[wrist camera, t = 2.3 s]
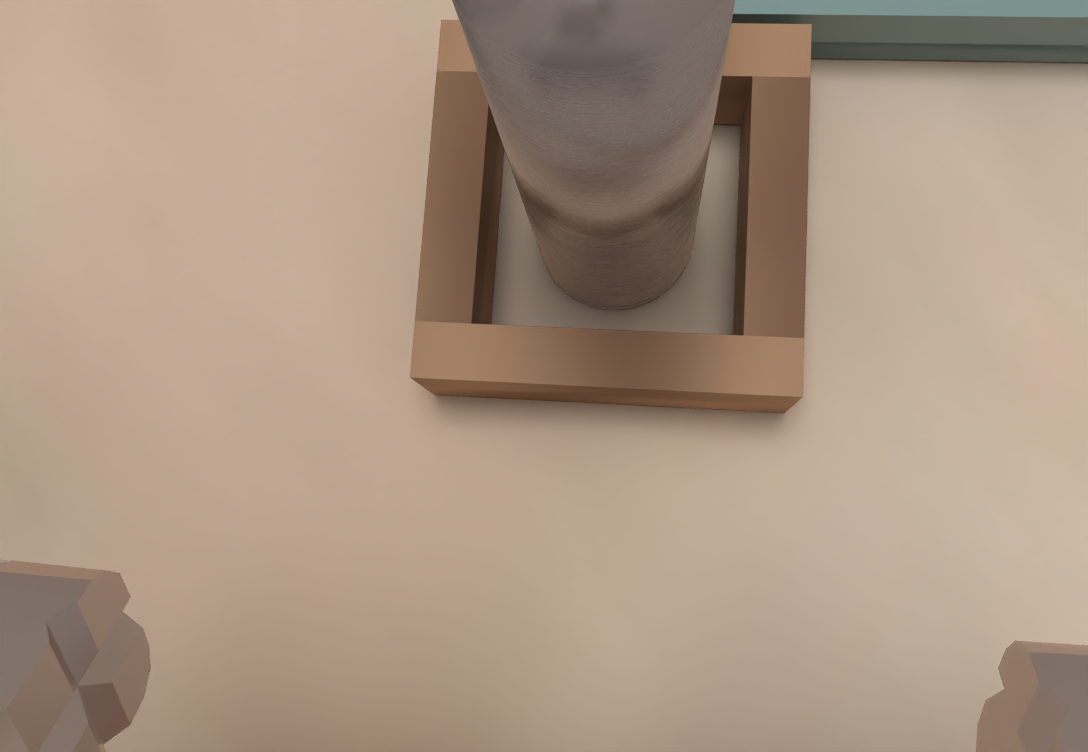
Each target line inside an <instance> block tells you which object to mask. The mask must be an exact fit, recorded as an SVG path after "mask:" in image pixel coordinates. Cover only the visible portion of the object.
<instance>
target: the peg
mask: <svg viewBox="0 0 1088 752" xmlns="http://www.w3.org/2000/svg"><path fill="white" fill-rule="evenodd" d="M452 1H453V3H454V6H455V9H456V12H457V15H458V18H459V21H460V23H461V26H462V29H463V32H464V35H465V38H466V41H467V43H468V46H469V49H470V52H471V55H472V58H473V61H474V63H475V66H476V69H477V72H478V75H479V78H480V81H481V83H482V86H483V89H484V92H485V95H486V98H487V101H488V103H489V106H490V109H491V112H492V115H493V118H494V121H495V123H496V126H497V129H498V132H499V135H500V138H501V141H502V143H503V146H504V149H505V152H506V155H507V158H508V161H509V163H510V166H511V169H512V172H513V175H514V178H515V181H516V183H517V186H518V189H519V192H520V195H521V198H522V201H523V203H524V206H525V209H526V212H527V215H528V218H529V221H530V223H531V226H532V229H533V232H534V235H535V238H536V241H537V243H538V246H539V249H540V252H541V255H542V258H543V261H544V263H545V265H546V268H547V270H548V272H549V273H550V275H551V276H552V278H553V279H554V281H555V282H556V283H557V284H558V286H559V287H561V288H562V289H563V290H564V291H565V292H566V293H567V294H569V295H570V296H571V297H573V298H574V299H576V300H578V301H580V302H582V303H584V304H587V305H589V306H592V307H596V308H600V309H608V310H623V309H629V308H634V307H638V306H641V305H644V304H646V303H648V302H651V301H652V300H654V299H656V298H658V297H659V296H661V295H662V294H663V293H665V292H666V291H667V290H668V289H669V288H670V287H671V286H672V285H673V284H674V283H675V282H676V281H677V279H678V278H679V277H680V275H681V274H682V272H683V270H684V269H685V267H686V265H687V262H688V260H689V257H690V253H691V250H692V245H693V239H694V233H695V228H696V222H697V216H698V210H699V205H700V199H701V193H702V188H703V182H704V176H705V171H706V165H707V159H708V153H709V148H710V142H711V136H712V131H713V125H714V119H715V114H716V108H717V102H718V96H719V91H720V85H721V79H722V74H723V68H724V62H725V57H726V51H727V45H728V39H729V34H730V28H731V22H732V17H733V11H734V5H735V0H452Z"/></svg>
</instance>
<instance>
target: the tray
mask: <svg viewBox="0 0 1088 752" xmlns="http://www.w3.org/2000/svg"><path fill="white" fill-rule="evenodd" d="M731 23H754V24H812V32H811V58H815V59H882V60H949V61H1016V62H1083V63H1088V0H735V5H734V11H733V17H732V22H731Z"/></svg>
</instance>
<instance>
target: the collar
mask: <svg viewBox="0 0 1088 752" xmlns="http://www.w3.org/2000/svg"><path fill="white" fill-rule="evenodd" d="M811 32H812V24H754V23H731V28H730V34H729V39H728V45H727V51H726V57H725V62H724V68H723V74H722V79H721V85H720V91H719V96H718V102H717V108H716V114H715V119H714V124H729V125H741V132H740V160H739V188H738V215H737V243H736V271H735V299H734V327H733V335H721V334H698V333H675V332H652V331H629V330H607V329H584V328H561V327H538V326H515V325H492V324H491V317H492V304H493V290H494V277H495V264H496V250H497V237H498V223H499V210H500V197H501V183H502V170H503V157H504V146H503V143H502V141H501V138H500V135H499V132H498V129H497V126H496V123H495V121H494V118H493V115H492V112H491V109H490V106H489V103H488V101H487V98H486V95H485V92H484V89H483V86H482V83H481V81H480V78H479V75H478V72H477V69H476V66H475V63H474V61H473V58H472V55H471V52H470V49H469V46H468V43H467V41H466V38H465V35H464V32H463V29H462V26H461V23H460V21H459V20H441V28H440V40H439V51H438V63H437V74H436V86H435V97H434V109H433V120H432V132H431V143H430V155H429V166H428V178H427V189H426V201H425V212H424V224H423V235H422V247H421V258H420V270H419V281H418V293H417V304H416V316H415V327H414V339H413V350H412V362H411V373H410V378H412V379H413V380H414V381H416V382H417V383H419V384H420V385H422V386H423V387H424V388H426V389H427V390H429V391H430V392H432V393H433V394H434V395H451V396H470V397H489V398H509V399H528V400H547V401H567V402H586V403H606V404H625V405H644V406H664V407H683V408H702V409H722V410H741V411H761V412H780V413H785V412H786V411H787V410H788V409H790V408H791V407H792V406H793V405H794V404H795V403H796V402H798V401H799V400H800V399H801V398H802V397H803V359H804V318H805V277H806V236H807V196H808V155H809V114H810V73H811Z"/></svg>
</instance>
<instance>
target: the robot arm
mask: <svg viewBox="0 0 1088 752" xmlns="http://www.w3.org/2000/svg"><path fill="white" fill-rule="evenodd" d="M130 597H131V596H130V594H129V592H128V590H127V588H126V586H125V583H124V581H123V579H122V577H121V575H120V573H116V572H111V571H104V570H95V569H86V568H76V567H67V566H58V565H48V564H39V563H29V562H20V561H7V560H0V752H105V748H104V743H106V742H107V741H109V740H110V739H111V738H113V737H114V736H115V735H117V734H118V733H120V732H121V731H122V730H124V729H125V728H126V727H128V726H129V725H130V724H131V722H132V720H133V718H134V716H135V714H136V712H137V710H138V708H139V706H140V704H141V702H142V700H143V698H144V694H145V690H146V686H147V681H148V677H149V672H150V668H151V666H150V651H149V644H148V641H147V638H146V636H145V633H144V630H143V628H142V627H141V626H140V625H138V624H137V623H136V622H135V621H133V620H132V619H131V618H130V617H128V616H127V615H126V614H125V613H123V612H122V611H123V609H124V607H125V606H126V604H127V602H128V601H129V599H130ZM998 669H999V673H1000V676H1001V680H1002V683H1003V686H1004V690H1002V691H1000V692H999V693H997V694H995V695H994V696H992V697H990V698H989V699H987V700H986V701H985V704H984V707H983V710H982V713H981V716H980V719H979V723H978V729H977V746H976V752H1088V646H1087V645H1072V644H1057V643H1042V642H1027V641H1014V642H1013V643H1012V644H1011V645H1010V646H1009V647H1008V648H1006V650H1005V652H1004V655H1003V657H1002V660H1001V662H1000V665H999V667H998Z"/></svg>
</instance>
